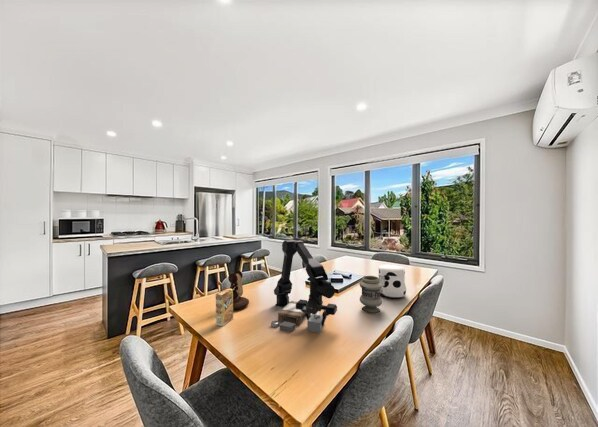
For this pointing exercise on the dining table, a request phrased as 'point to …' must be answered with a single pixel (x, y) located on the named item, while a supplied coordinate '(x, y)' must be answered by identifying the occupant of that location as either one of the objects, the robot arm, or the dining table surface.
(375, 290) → the apothecary jar
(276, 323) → the steel nut
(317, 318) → the housing
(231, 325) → the dining table surface
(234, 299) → the brown wooden figurine
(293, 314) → the walnut stand
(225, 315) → the candy box
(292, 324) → the rubber block
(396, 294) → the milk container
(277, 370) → the dining table surface
